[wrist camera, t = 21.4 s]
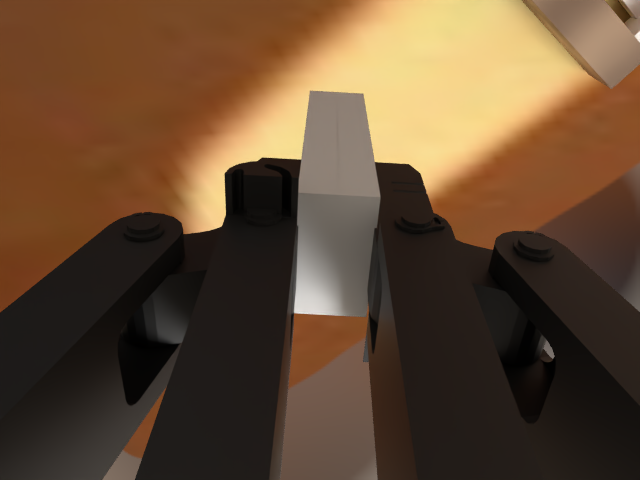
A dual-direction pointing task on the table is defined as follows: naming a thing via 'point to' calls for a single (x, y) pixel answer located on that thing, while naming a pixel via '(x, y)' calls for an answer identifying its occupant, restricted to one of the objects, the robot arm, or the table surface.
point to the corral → (632, 16)
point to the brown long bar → (591, 36)
